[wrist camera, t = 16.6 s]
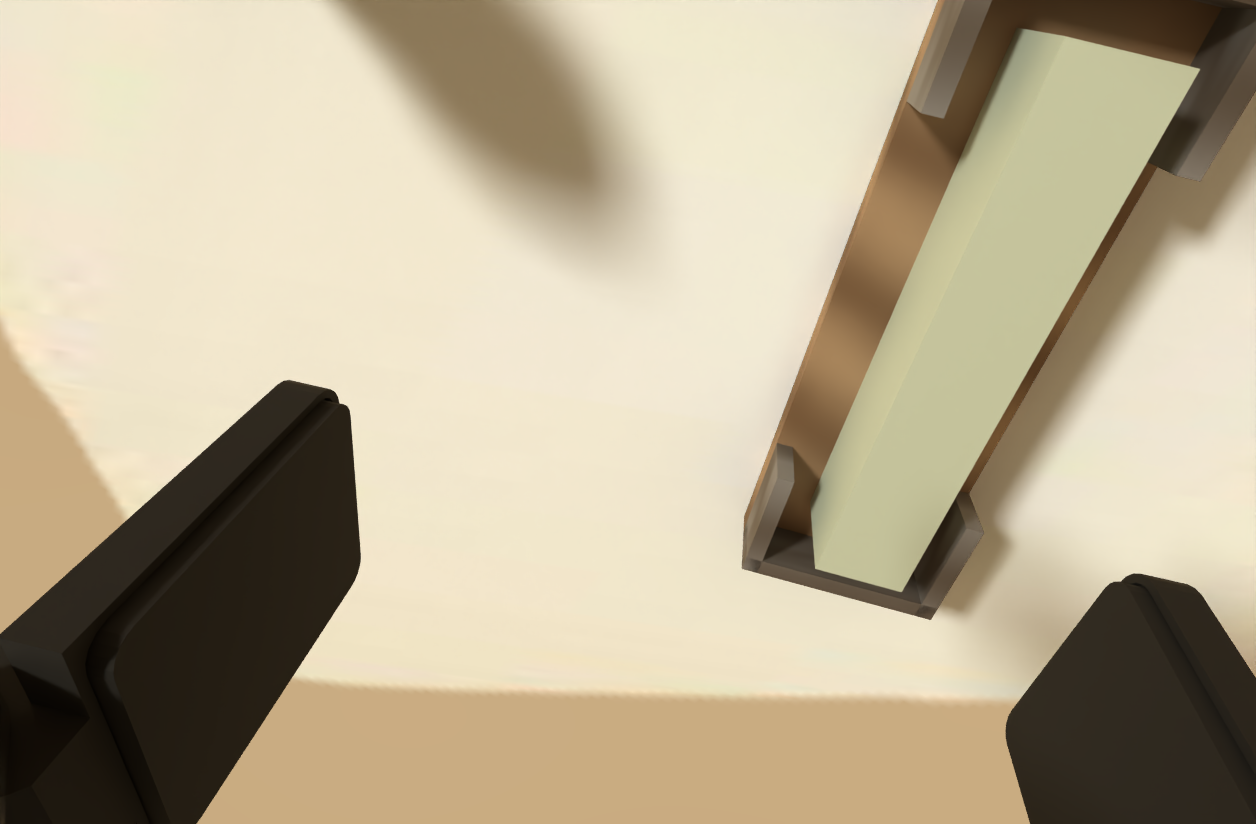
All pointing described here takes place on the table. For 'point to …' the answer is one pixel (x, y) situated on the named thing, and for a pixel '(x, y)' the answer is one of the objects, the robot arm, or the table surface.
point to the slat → (987, 290)
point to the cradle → (900, 219)
